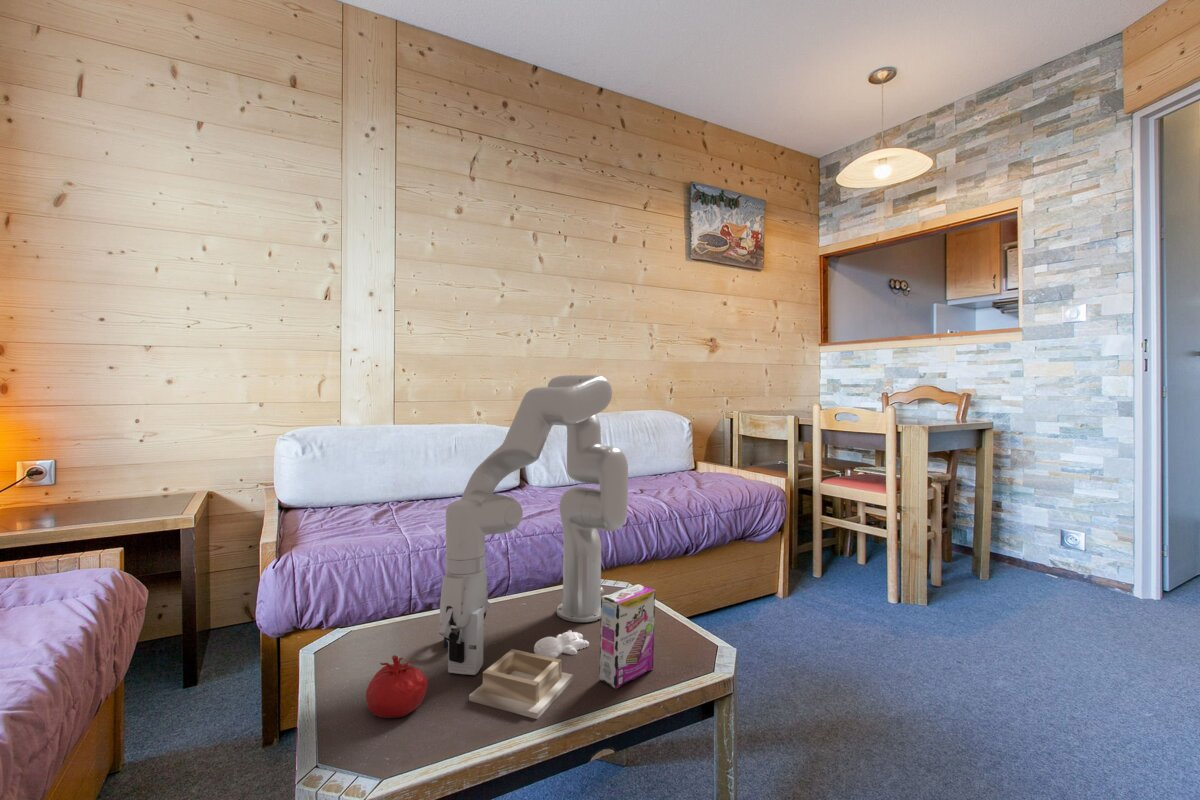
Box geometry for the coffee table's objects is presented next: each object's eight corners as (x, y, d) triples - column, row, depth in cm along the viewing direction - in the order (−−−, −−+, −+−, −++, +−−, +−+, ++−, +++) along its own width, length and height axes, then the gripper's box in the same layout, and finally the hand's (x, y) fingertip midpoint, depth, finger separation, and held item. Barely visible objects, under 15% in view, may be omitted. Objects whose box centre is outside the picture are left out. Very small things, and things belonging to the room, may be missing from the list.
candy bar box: (617, 690, 103) (617, 603, 102) (598, 680, 106) (599, 596, 106) (655, 670, 110) (656, 588, 110) (636, 661, 114) (637, 582, 114)
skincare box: (447, 673, 108) (446, 612, 107) (455, 661, 112) (455, 603, 111) (477, 675, 107) (476, 614, 106) (485, 663, 111) (484, 604, 111)
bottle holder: (510, 665, 112) (511, 643, 112) (573, 679, 106) (573, 656, 106) (469, 700, 99) (469, 675, 99) (537, 719, 93) (537, 693, 93)
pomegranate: (404, 731, 90) (404, 675, 90) (353, 720, 93) (353, 666, 93) (438, 697, 100) (438, 647, 99) (390, 688, 102) (390, 639, 102)
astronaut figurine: (593, 653, 118) (593, 639, 118) (538, 662, 114) (538, 648, 114) (581, 636, 126) (581, 623, 126) (529, 644, 122) (529, 630, 122)
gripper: (475, 549, 118) (476, 633, 119) (420, 574, 102) (421, 671, 103) (505, 554, 115) (505, 639, 116) (453, 580, 99) (454, 679, 100)
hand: (466, 653), depth 109 cm, fingers closed on skincare box, 5 cm apart
